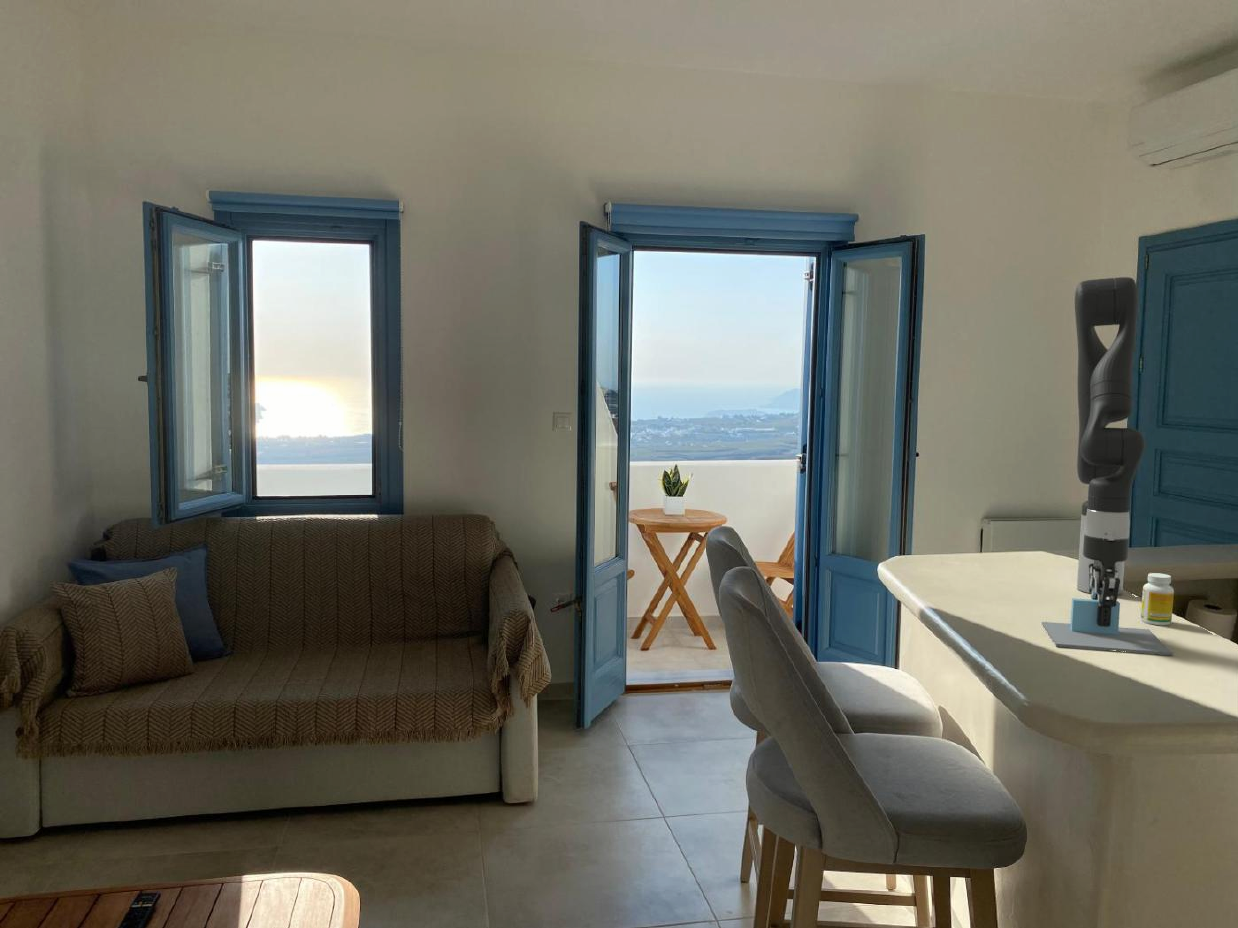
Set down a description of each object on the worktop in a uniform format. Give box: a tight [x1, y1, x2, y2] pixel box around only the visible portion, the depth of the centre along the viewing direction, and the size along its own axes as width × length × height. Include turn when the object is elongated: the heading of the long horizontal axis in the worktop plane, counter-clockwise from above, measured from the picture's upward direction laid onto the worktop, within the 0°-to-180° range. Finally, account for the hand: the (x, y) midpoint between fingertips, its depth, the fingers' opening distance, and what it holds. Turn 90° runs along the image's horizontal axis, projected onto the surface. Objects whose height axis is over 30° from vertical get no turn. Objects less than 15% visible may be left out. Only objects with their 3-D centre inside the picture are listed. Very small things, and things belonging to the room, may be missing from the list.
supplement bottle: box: [1140, 572, 1175, 626], centre depth 188 cm, size 5×5×10 cm
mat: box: [1041, 621, 1174, 656], centre depth 176 cm, size 15×19×1 cm
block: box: [1069, 597, 1121, 634], centre depth 179 cm, size 2×8×6 cm, turn 75°
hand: (1100, 622), depth 179 cm, fingers open, 4 cm apart
